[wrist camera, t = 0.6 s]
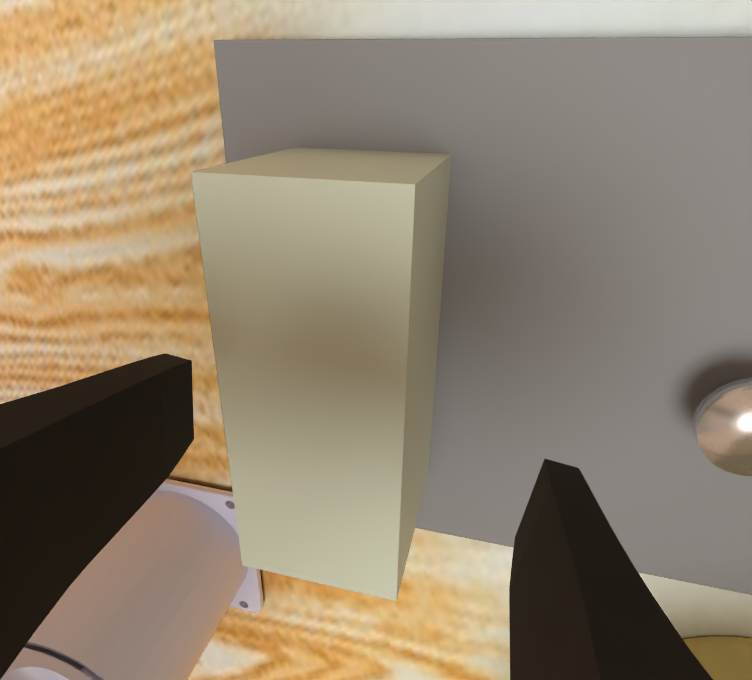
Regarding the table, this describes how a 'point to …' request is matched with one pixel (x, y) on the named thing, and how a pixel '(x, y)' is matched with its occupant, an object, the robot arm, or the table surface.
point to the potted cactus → (723, 656)
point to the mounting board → (558, 262)
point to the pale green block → (326, 352)
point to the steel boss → (727, 427)
